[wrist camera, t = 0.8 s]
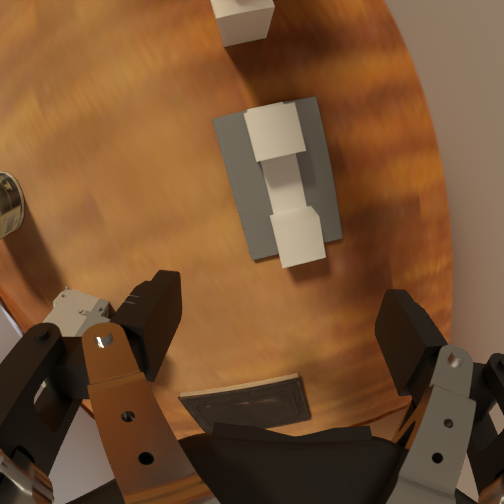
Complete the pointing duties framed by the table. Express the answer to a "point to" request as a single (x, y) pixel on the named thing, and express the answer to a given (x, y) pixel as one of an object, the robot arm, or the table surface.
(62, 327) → the circuit breaker
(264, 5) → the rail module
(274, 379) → the hardcover book
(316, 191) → the rail board
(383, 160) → the table surface
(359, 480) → the robot arm
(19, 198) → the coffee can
